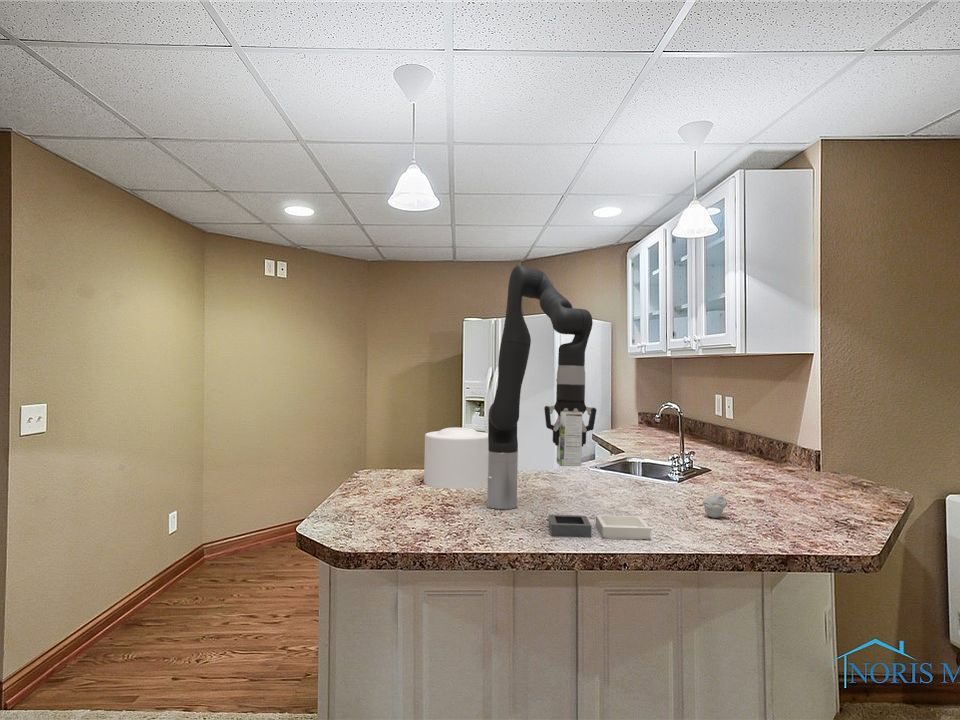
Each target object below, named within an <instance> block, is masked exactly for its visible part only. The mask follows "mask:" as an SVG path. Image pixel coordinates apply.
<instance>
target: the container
mask: <svg viewBox="0 0 960 720" xmlns="http://www.w3.org/2000/svg"><path fill="white" fill-rule="evenodd" d="M488 451H489V450H488V432H483V431H477V430H476V429H474V428H470V427H455V426H454V427H446V428H442V429H440V430H438V431H436V430H435V431H430V432H429V431H428V432H427V433H425V434H424V462H423V463H424V465H423V466H424V469H423V472H424V473H423V474H424V475H423V476H424V477H423V483H424V484H425V485H426V486H429V487H432V488H438V489H444V488H448V489H447V490H449V489H450V490H464V489H463V488H473V489H476V488H475V487H481V486H485V485H487V484H488ZM485 487H486V486H485ZM481 488H482V487H481Z"/></svg>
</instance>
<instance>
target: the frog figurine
mask: <svg viewBox="0 0 960 720" xmlns="http://www.w3.org/2000/svg"><path fill="white" fill-rule="evenodd" d="M728 501H729V500H728V499H727V498H726V497H724V496H723V495H722V494H719V493H715V494H713V495H711V496H709V497H707V498H705V499H704V500H703V501H702V504H703V505H704V511H705V514H706V515H707V516H708V517H710V518H711V519H712V518H713V519H717V518H719V517H722V515H723V512H724V509H725V508H726V507H727V505H728Z"/></svg>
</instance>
